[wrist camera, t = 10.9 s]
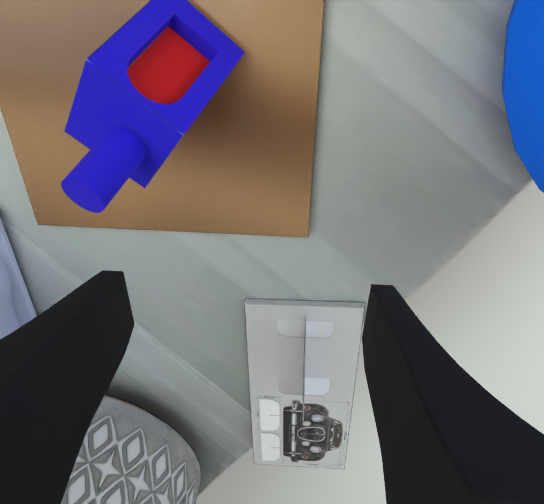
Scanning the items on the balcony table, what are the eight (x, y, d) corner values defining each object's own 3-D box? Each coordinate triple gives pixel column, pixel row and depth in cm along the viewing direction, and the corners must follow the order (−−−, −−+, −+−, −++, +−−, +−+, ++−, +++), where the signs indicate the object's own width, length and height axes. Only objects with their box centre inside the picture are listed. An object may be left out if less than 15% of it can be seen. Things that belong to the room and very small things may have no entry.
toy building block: (135, 58, 19) (14, 181, 15) (169, -18, 16) (25, 113, 12) (201, 111, 20) (106, 240, 16) (245, 51, 17) (139, 194, 13)
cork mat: (308, 233, 22) (308, 237, 22) (41, 221, 23) (37, 224, 23) (332, -127, 15) (333, -130, 14) (-69, -129, 15) (-77, -132, 15)
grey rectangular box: (245, 298, 25) (233, 355, 21) (363, 302, 24) (373, 361, 20) (254, 458, 33) (247, 521, 29) (343, 463, 32) (348, 528, 28)
